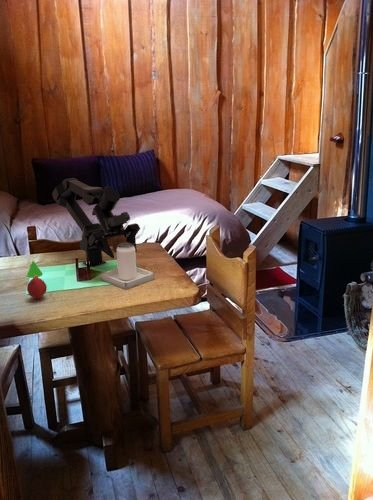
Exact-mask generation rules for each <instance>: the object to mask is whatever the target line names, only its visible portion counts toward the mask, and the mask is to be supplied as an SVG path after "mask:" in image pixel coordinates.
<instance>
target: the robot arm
mask: <svg viewBox="0 0 373 500" xmlns="http://www.w3.org/2000/svg"><path fill="white" fill-rule="evenodd" d="M77 196H79V197H81V198H82V202H83V203H85V205H87V206H94V207H93V208H92V212H91V215H92V216H95V217H96V218H97V220H98V222H97V223H96V222H95V223H93V222H92V221H91V220H90V218H89V217H88V215H87V214H86V213H85V211H84V209H83V208H82V207H81V206H80V203H79V202H78V201H77V200H76V199H77ZM52 198H53V200H54V201H55V202H56V203H57V205H58V206H60V207H63V208H65V209H66V210H67V212H68V213H69V214H70V216H71V218H72V219H73V220H74V222H75V224H76V225H77V226H78V228H79V229H80V230H81V232H82V233H81V241H80V242H79V248H80V250H82V251H84V252H85V260H86V259H87V258H89V261H90V266H89V267H93V268H94V267H98V266H100V265H104V264H106V263H107V262H106V260H103V253H104V254H106V255H107V256H109V258H111V259H115V255H114V252H113V251H112V249H111V246H110V244H109V242H108V239H111V238H113V237H117V236H122V235H124V236H125V237H126V238H127V239H126V241H127V243H133V244H134V247H135V253H137V252H138V250H137V242H136V236H137V234H138V233H139V231H140V230H141V227H140V225H139V224H138V223H137V222H135V223H130V224H127V223H128V221H131V217H130V214H129V213H128V211H123V212H121V213H120V214H118V215H117V214H114V213H113V210H114V209H115V208H116V206H117V204H118V202H119V201H120V199H121V193H120V192H119V191H117V190H116V189H114V188H111V186H110V185H108V186H104V188H102V187H99V186H90V185H88V184H86V183H84V182H82V181H79V180H78V179H77V178H75V177H72V178H71V177H70V178H65V179H63V181H62V182H61V183H59V184H58V185H57V186H55V187H54V189H53V191H52ZM125 224H127V225H126V227H124V230H121V228H122V227H123V226H124V225H125ZM102 252H103V253H102ZM82 263H83V264H84V265H86V261H83V262H82Z"/></svg>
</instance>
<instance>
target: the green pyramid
mask: <svg viewBox="0 0 373 500" xmlns="http://www.w3.org/2000/svg"><path fill="white" fill-rule="evenodd" d="M35 275H37V276H38V278H39V277H42V276H43V275H44V274H43V272H42V270H41V269H40V267H38V264H36V263H35V260H31V264H30V266H29V269H28V271H27V274H26V278H28V279H33V278H34V276H35Z"/></svg>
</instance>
